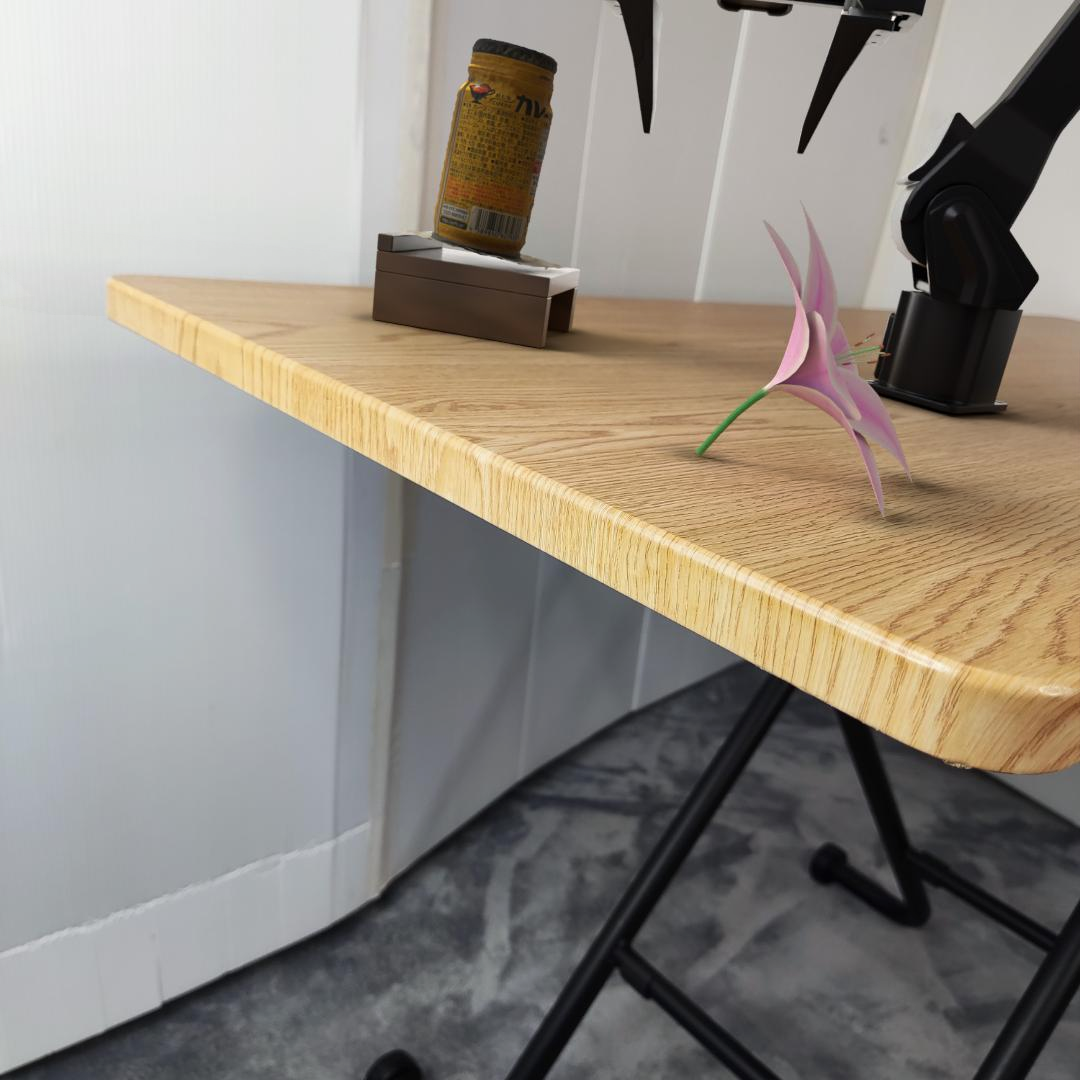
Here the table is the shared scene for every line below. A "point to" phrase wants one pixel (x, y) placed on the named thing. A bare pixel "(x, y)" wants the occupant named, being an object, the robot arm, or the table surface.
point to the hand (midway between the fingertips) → (722, 143)
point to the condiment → (496, 152)
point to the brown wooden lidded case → (469, 292)
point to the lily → (826, 363)
